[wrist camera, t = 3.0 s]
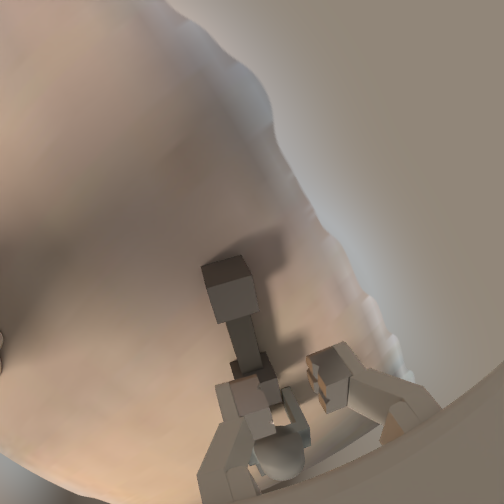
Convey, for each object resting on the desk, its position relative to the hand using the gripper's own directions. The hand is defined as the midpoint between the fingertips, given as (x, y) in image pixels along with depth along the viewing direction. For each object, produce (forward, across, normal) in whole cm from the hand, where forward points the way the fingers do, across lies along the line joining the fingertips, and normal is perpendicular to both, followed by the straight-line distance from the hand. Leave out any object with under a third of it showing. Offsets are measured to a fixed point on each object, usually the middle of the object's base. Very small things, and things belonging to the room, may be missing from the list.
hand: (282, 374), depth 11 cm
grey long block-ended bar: (+19, 0, +15) cm, 24 cm away
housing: (+19, 0, +30) cm, 36 cm away
